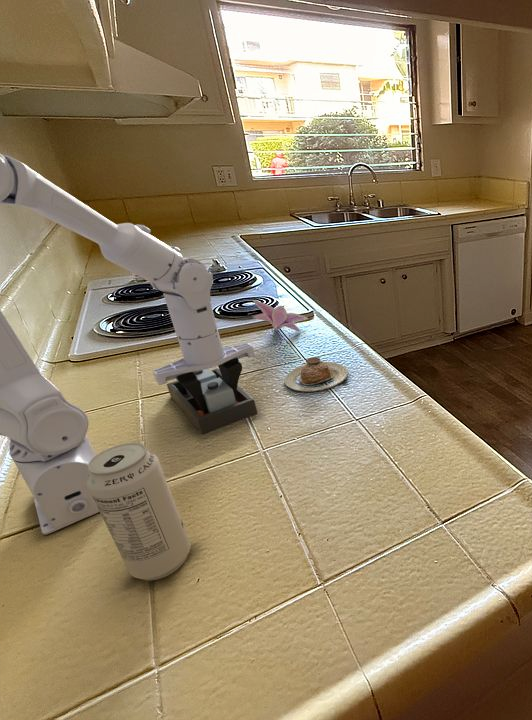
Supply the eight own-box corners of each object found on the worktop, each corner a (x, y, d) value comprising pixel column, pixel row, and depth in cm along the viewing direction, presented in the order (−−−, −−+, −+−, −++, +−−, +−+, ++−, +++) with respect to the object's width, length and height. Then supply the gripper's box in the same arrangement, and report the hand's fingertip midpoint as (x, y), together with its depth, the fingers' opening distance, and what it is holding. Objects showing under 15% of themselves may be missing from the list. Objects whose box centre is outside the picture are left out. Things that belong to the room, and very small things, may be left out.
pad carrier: (258, 416, 80) (254, 399, 79) (203, 437, 75) (197, 420, 73) (222, 383, 91) (217, 367, 89) (171, 399, 85) (166, 383, 83)
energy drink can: (203, 542, 56) (166, 440, 49) (170, 586, 50) (123, 478, 44) (156, 539, 56) (112, 438, 49) (118, 583, 51) (63, 475, 44)
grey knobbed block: (239, 414, 79) (231, 386, 77) (214, 424, 77) (205, 394, 74) (226, 401, 83) (218, 374, 80) (202, 410, 80) (193, 382, 78)
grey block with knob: (222, 398, 84) (214, 371, 82) (198, 407, 82) (190, 379, 79) (210, 387, 88) (203, 361, 86) (187, 395, 85) (179, 368, 83)
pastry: (280, 375, 94) (276, 354, 92) (340, 362, 99) (337, 342, 97) (291, 401, 84) (286, 379, 82) (355, 385, 90) (353, 364, 88)
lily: (315, 343, 110) (314, 303, 111) (269, 340, 100) (268, 296, 101) (285, 347, 117) (285, 309, 118) (239, 344, 107) (239, 304, 108)
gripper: (235, 314, 80) (252, 382, 86) (137, 338, 71) (164, 413, 77) (251, 325, 76) (268, 396, 82) (150, 352, 67) (177, 430, 73)
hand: (219, 405), depth 79 cm, fingers closed on grey knobbed block, 4 cm apart
